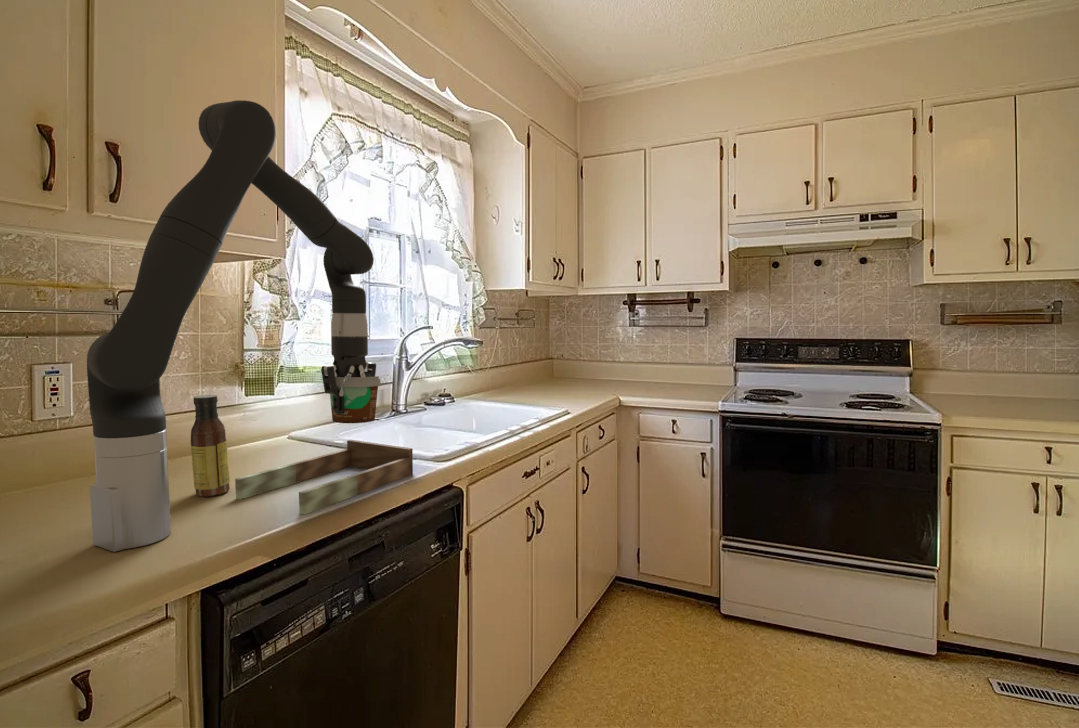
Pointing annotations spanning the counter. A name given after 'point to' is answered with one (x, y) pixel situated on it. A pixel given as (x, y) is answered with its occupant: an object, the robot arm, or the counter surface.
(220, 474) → the sauce bottle
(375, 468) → the crate bay
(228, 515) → the counter surface
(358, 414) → the food container
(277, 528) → the counter surface
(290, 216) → the robot arm
